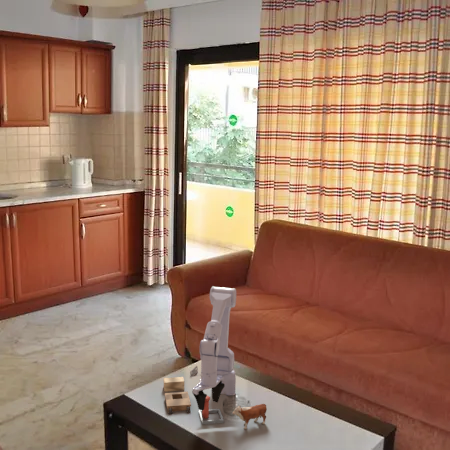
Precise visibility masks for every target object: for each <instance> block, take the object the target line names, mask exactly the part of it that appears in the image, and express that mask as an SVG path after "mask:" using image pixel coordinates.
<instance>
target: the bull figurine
mask: <svg viewBox="0 0 450 450" xmlns="http://www.w3.org/2000/svg"><path fill="white" fill-rule="evenodd" d="M266 413H267V405H266V403H261V404H255V405H251V406H246V407H245V406H243V407H241V405H238V406H236V407H235V409H234V410H233V411H232V415H233V416H234V415H235V416H237V417H239V418H240V420H241V421H242V422H244V423H243V426H244V427H243V430H245V431H246V430H247V429H248V424H249V422H250V421H251V420H253V423H257V421H259V419H261V418H262V419H263V420H262V422H261V425H265V423H266V418H267V416H266Z"/></svg>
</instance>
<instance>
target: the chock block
mask: <svg viewBox="0 0 450 450" xmlns="http://www.w3.org/2000/svg"><path fill="white" fill-rule="evenodd" d="M163 391H164V392H165V393H168V392H177V391H178V392H182V391H185V379H184V376H175V377H163Z"/></svg>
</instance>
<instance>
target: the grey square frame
mask: <svg viewBox="0 0 450 450" xmlns="http://www.w3.org/2000/svg"><path fill="white" fill-rule="evenodd" d="M212 413H214V414H215V413H217V414H218V416H219V419H208V420H206V419H205V420H204V418H203V417H202V410H200V409H198V415H199V419H200V422H201V425H210V424H212V425H213V424H224V421H225V420H224V417H223V415H222V414H223V413H222V411H221V408H212V409H210V408H209V414H212Z"/></svg>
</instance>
